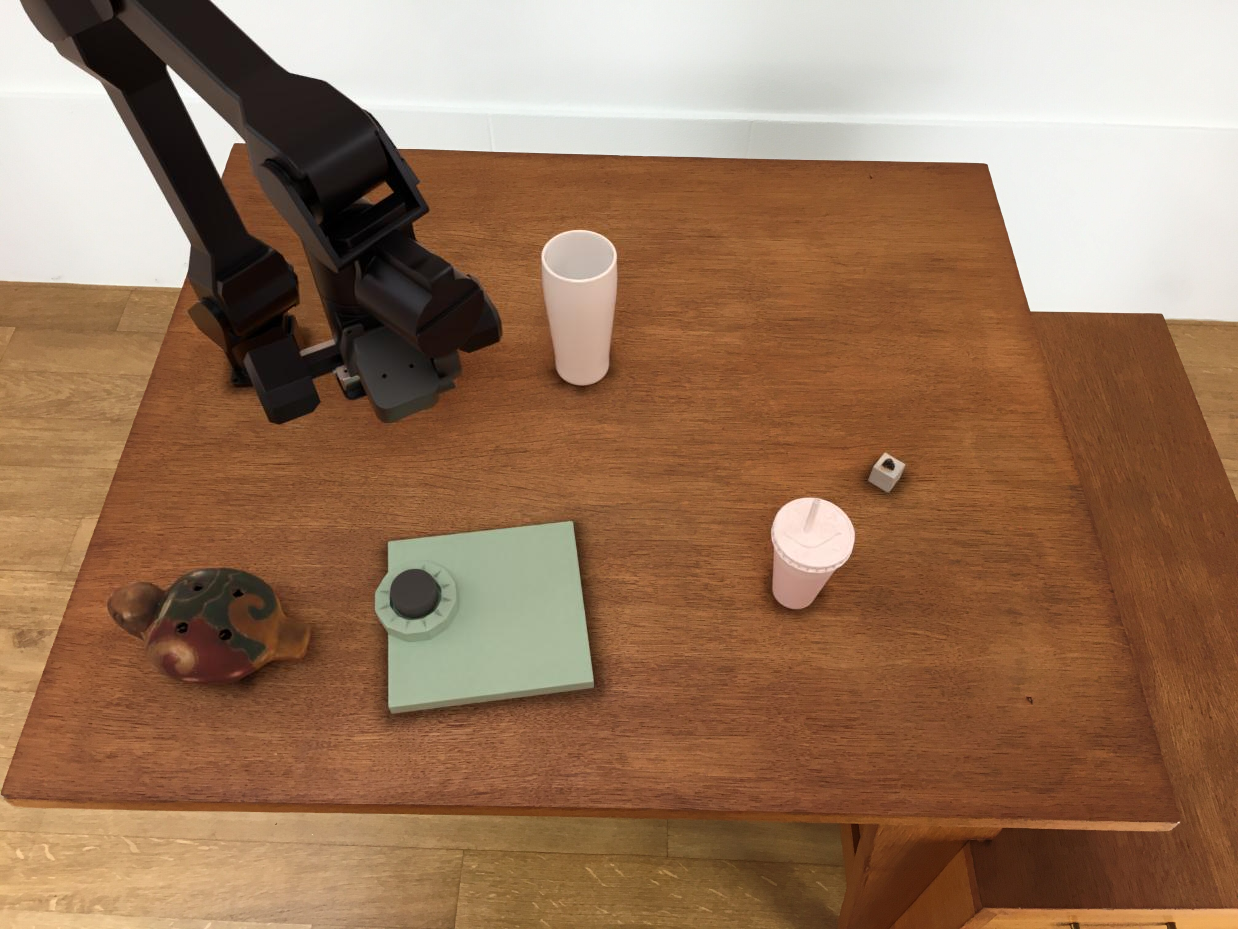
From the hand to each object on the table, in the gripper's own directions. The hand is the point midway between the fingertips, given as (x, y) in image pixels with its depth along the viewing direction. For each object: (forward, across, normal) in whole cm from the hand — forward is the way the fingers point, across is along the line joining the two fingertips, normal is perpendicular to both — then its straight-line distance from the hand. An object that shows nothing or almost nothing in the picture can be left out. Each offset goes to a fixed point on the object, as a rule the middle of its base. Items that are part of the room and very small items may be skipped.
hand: (395, 412), depth 80 cm
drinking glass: (+10, +20, +4) cm, 23 cm away
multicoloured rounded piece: (+10, -19, -9) cm, 23 cm away
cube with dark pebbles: (+10, +38, -20) cm, 44 cm away
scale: (+10, 0, -16) cm, 19 cm away
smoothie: (+10, +24, -26) cm, 37 cm away
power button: (+7, -4, -13) cm, 15 cm away
